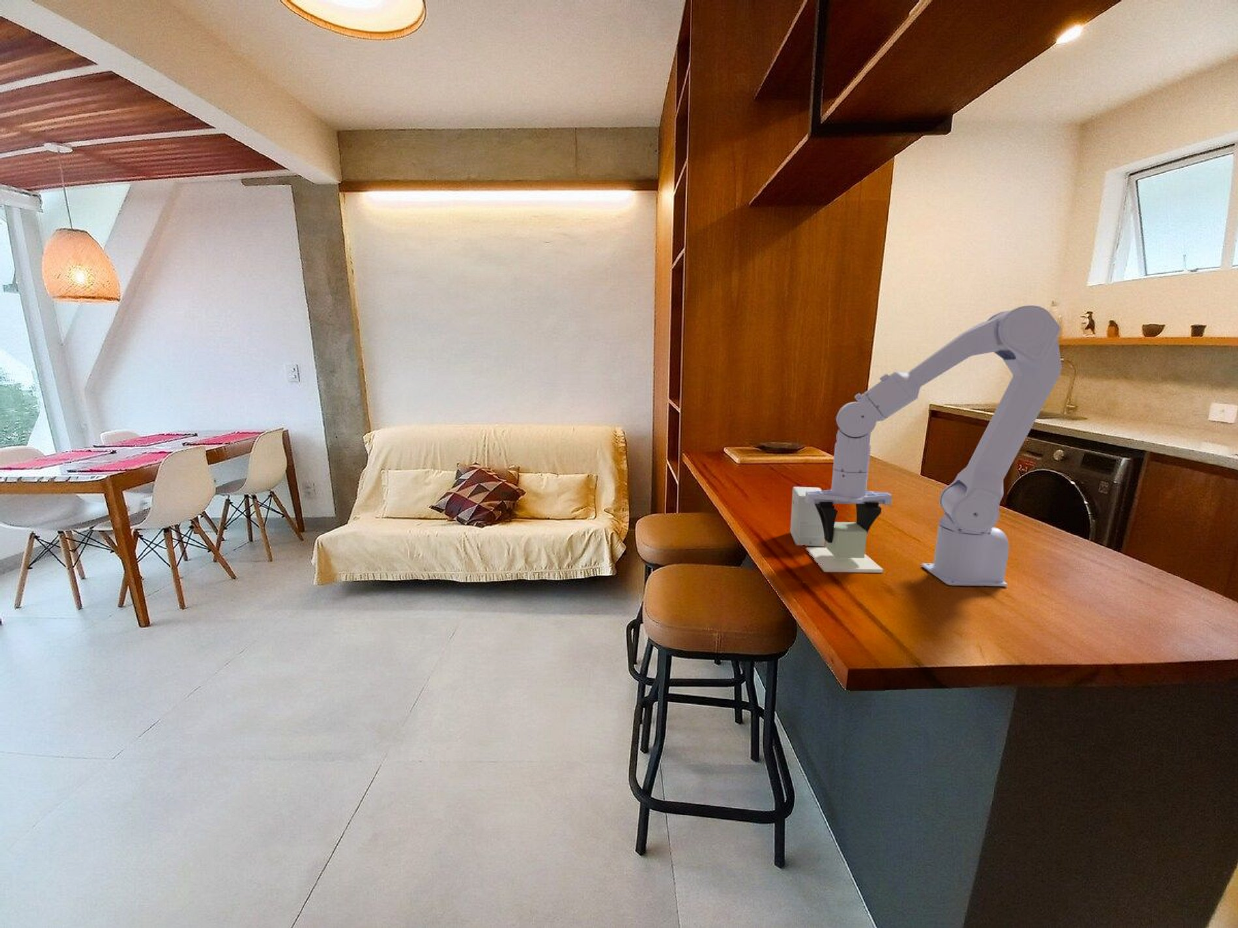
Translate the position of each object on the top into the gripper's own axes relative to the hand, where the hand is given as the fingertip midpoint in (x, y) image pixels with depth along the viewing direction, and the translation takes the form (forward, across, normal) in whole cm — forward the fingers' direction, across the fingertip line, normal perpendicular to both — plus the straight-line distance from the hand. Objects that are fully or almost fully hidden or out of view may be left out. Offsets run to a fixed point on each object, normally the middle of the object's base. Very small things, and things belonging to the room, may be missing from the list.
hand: (843, 541), depth 87 cm
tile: (+4, 0, 0) cm, 4 cm away
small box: (+4, -3, +11) cm, 12 cm away
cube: (+2, 0, -1) cm, 2 cm away
